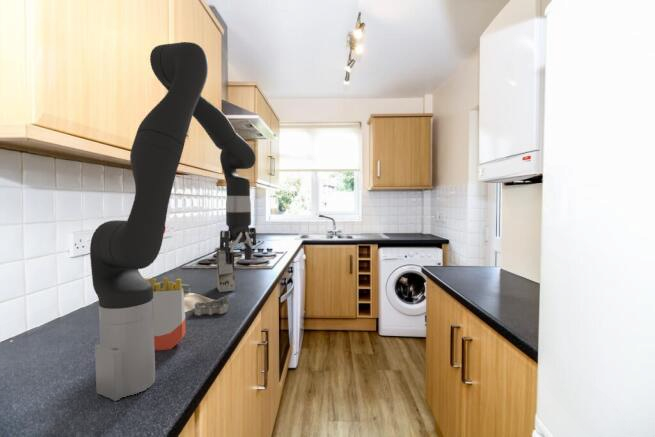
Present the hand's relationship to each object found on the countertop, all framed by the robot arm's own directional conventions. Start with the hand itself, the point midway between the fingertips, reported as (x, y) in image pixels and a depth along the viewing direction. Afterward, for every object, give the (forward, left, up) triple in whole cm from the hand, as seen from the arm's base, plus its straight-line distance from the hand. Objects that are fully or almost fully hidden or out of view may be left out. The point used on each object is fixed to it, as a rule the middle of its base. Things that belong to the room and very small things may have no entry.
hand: (239, 261), depth 104 cm
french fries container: (-25, +4, -18) cm, 31 cm away
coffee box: (+24, +28, -18) cm, 41 cm away
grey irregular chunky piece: (0, +12, -18) cm, 22 cm away
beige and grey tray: (0, +33, -19) cm, 38 cm away
